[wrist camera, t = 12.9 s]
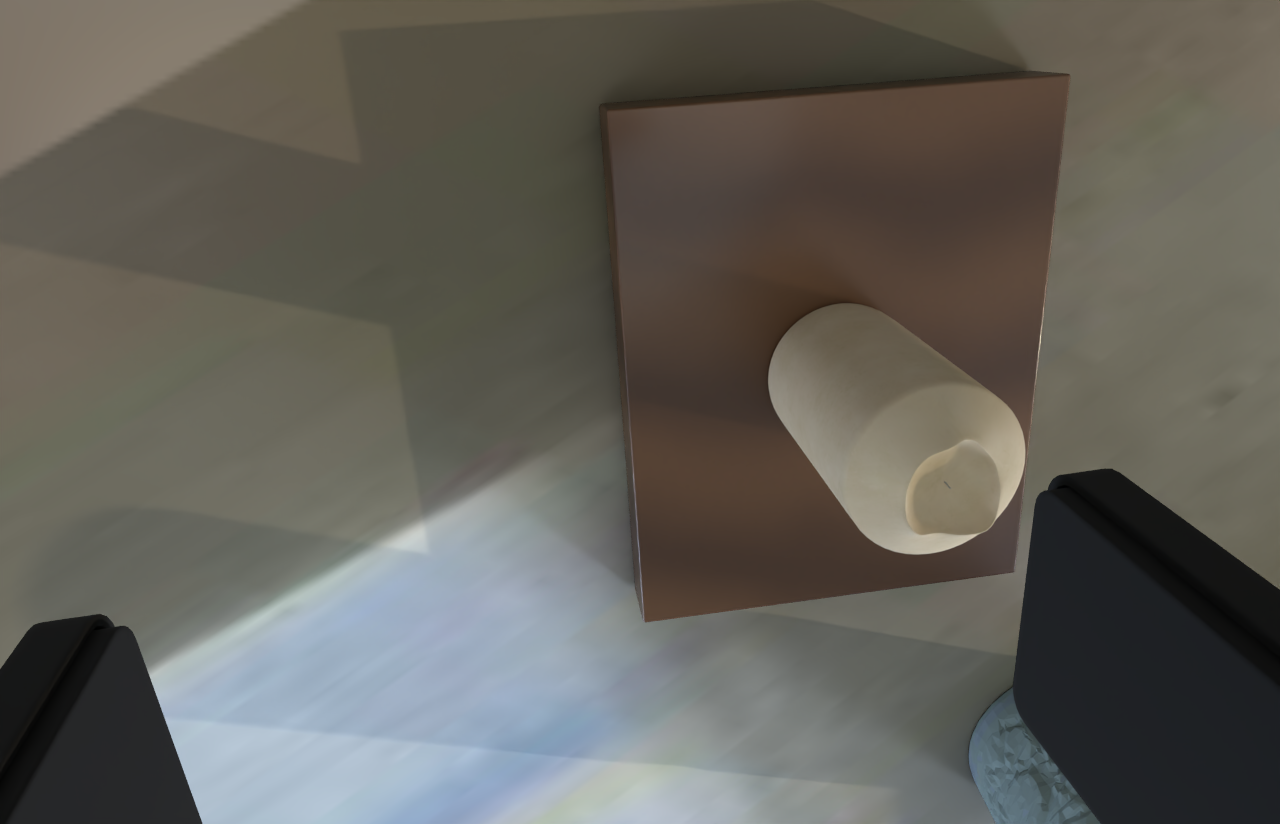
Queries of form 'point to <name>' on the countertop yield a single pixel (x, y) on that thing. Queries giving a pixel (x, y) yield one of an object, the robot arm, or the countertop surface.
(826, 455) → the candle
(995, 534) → the serving board
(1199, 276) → the countertop surface
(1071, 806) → the embossed blue pot
